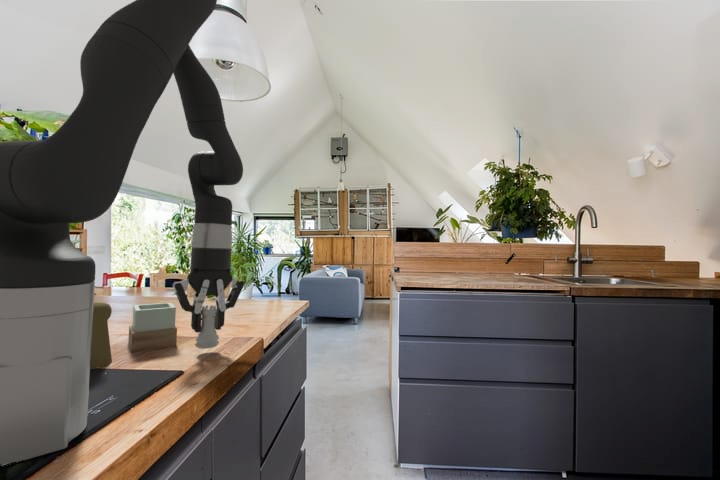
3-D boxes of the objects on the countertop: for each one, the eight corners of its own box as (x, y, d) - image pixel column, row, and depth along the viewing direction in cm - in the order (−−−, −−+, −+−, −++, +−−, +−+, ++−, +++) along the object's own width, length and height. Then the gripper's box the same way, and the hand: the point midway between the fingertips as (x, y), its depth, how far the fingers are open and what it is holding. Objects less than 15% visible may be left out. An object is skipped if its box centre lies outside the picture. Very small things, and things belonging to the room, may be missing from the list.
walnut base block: (176, 346, 68) (177, 328, 68) (131, 353, 63) (132, 333, 63) (170, 337, 74) (170, 321, 74) (128, 343, 69) (129, 325, 69)
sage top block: (174, 327, 68) (175, 307, 68) (134, 332, 63) (135, 310, 64) (170, 321, 74) (170, 302, 74) (132, 325, 69) (133, 305, 69)
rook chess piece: (209, 350, 61) (211, 308, 61) (189, 348, 61) (191, 307, 62) (223, 343, 65) (225, 305, 65) (205, 341, 66) (206, 304, 66)
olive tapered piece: (57, 371, 52) (61, 306, 53) (83, 359, 58) (87, 300, 59) (97, 370, 53) (101, 306, 54) (119, 358, 59) (122, 300, 60)
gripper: (177, 245, 57) (171, 340, 56) (252, 247, 66) (248, 329, 65) (169, 245, 62) (164, 331, 62) (240, 247, 72) (236, 322, 71)
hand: (207, 329), depth 63 cm, fingers closed on rook chess piece, 3 cm apart
